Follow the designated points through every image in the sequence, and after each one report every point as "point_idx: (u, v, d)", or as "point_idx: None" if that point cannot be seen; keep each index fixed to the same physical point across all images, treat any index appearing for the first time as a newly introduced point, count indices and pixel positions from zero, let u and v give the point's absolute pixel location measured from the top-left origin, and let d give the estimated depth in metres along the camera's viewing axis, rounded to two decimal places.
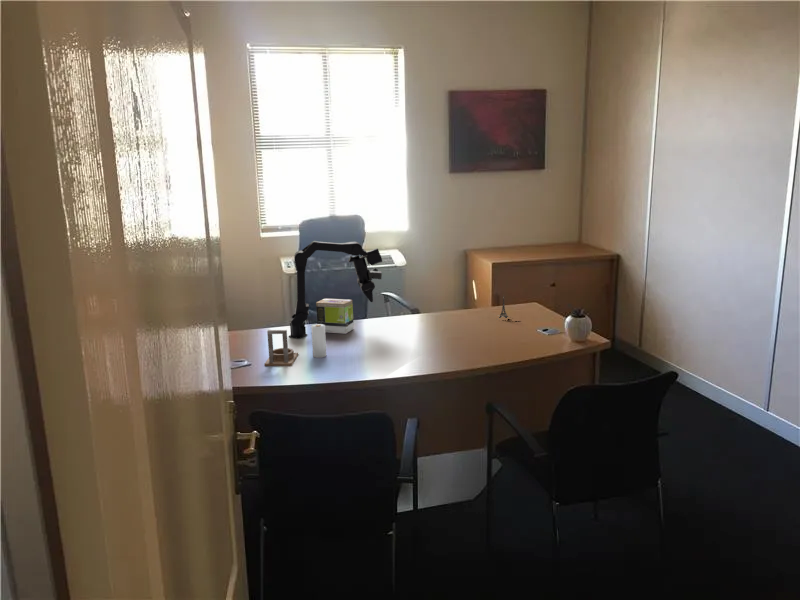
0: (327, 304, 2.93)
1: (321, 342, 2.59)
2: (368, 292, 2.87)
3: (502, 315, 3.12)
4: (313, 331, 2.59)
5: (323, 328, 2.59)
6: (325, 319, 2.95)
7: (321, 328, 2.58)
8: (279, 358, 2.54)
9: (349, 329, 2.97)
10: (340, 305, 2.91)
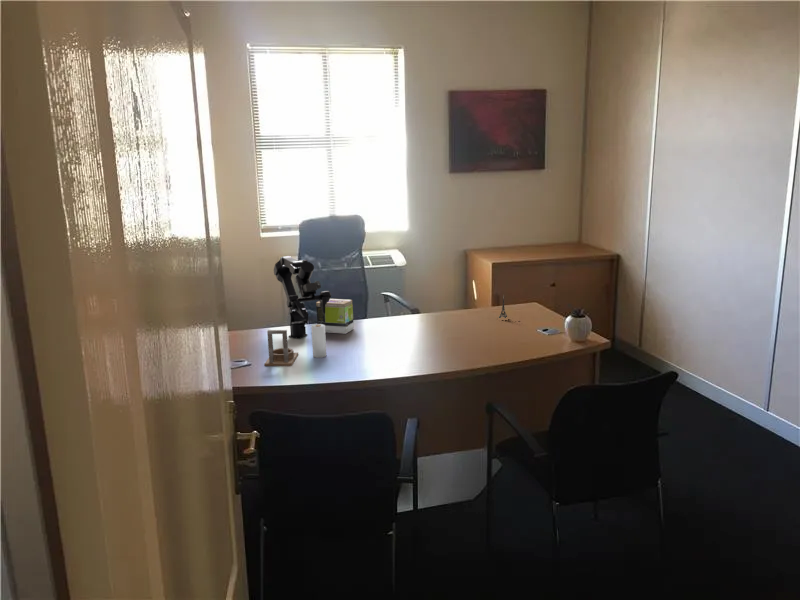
0: (327, 304, 2.93)
1: (321, 342, 2.59)
2: (297, 307, 2.67)
3: (502, 315, 3.12)
4: (313, 331, 2.59)
5: (323, 328, 2.59)
6: (325, 319, 2.95)
7: (321, 328, 2.58)
8: (279, 358, 2.54)
9: (349, 329, 2.97)
10: (340, 305, 2.91)
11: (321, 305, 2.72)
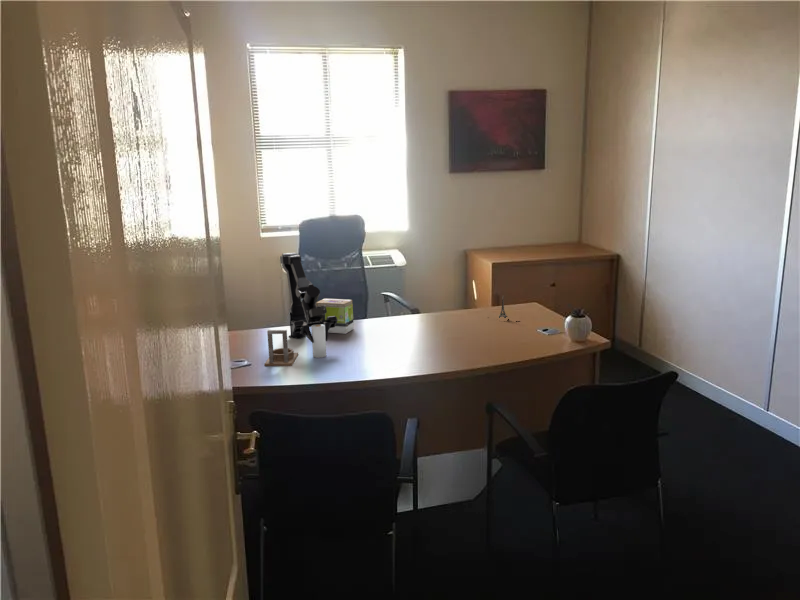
0: (327, 304, 2.93)
1: (321, 342, 2.59)
2: (307, 332, 2.61)
3: (501, 315, 3.12)
4: (313, 331, 2.59)
5: (323, 328, 2.59)
6: (325, 319, 2.95)
7: (321, 328, 2.58)
8: (279, 358, 2.54)
9: (349, 329, 2.97)
10: (340, 305, 2.91)
11: None
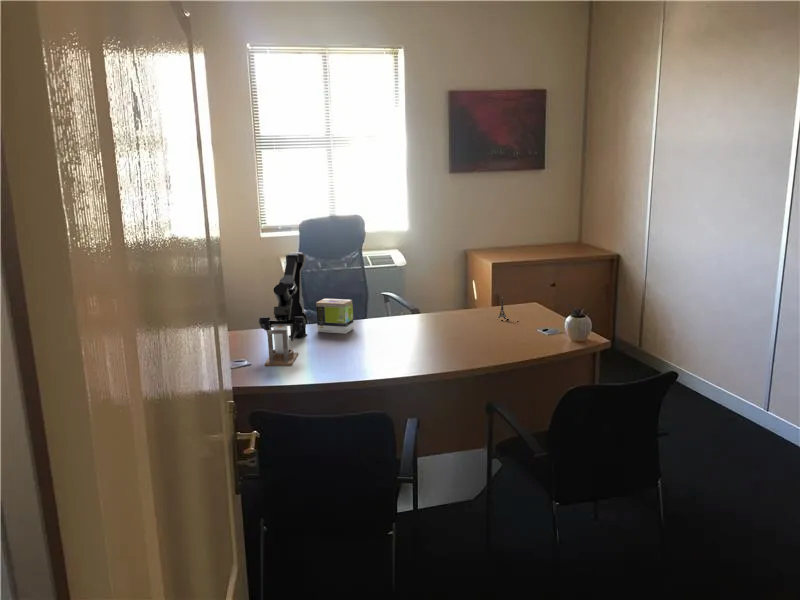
0: (327, 304, 2.93)
1: (280, 343, 2.55)
2: None
3: (501, 315, 3.11)
4: None
5: None
6: (325, 319, 2.95)
7: (280, 329, 2.54)
8: (279, 358, 2.54)
9: (349, 329, 2.97)
10: (340, 305, 2.91)
11: None
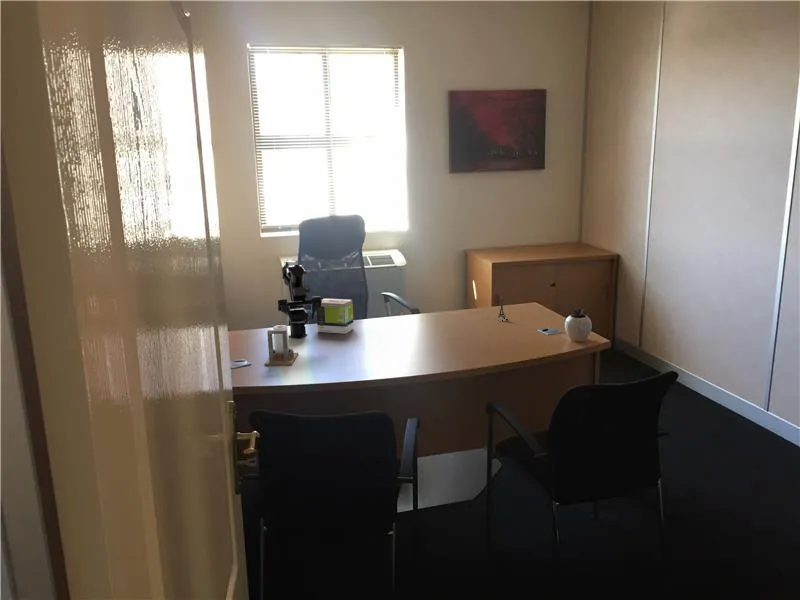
0: (327, 304, 2.93)
1: (280, 343, 2.55)
2: (286, 311, 2.69)
3: (500, 316, 3.11)
4: None
5: None
6: (325, 319, 2.95)
7: (280, 329, 2.54)
8: (279, 358, 2.54)
9: (349, 329, 2.97)
10: (340, 305, 2.91)
11: None
